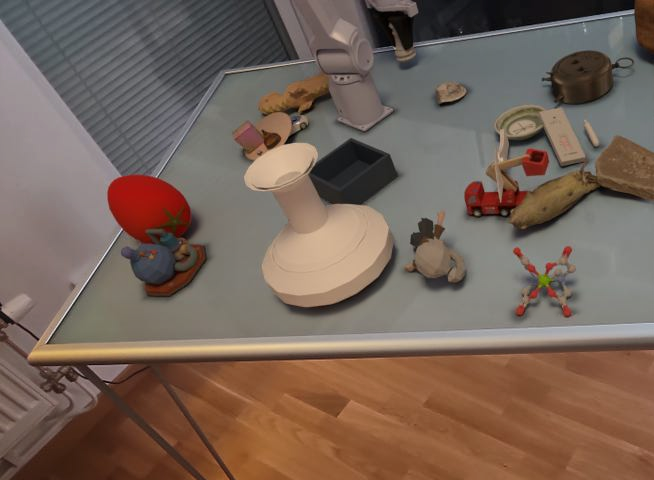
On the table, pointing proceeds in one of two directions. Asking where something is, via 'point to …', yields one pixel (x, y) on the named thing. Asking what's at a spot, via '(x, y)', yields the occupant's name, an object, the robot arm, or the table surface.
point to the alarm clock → (582, 76)
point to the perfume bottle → (263, 134)
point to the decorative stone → (626, 168)
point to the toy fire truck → (511, 196)
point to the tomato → (148, 206)
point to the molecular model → (546, 280)
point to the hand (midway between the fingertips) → (403, 46)
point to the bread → (645, 24)
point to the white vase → (316, 234)
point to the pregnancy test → (565, 136)
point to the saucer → (520, 122)
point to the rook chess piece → (402, 49)
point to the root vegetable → (552, 198)
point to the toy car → (298, 123)
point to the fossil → (449, 92)
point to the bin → (352, 173)
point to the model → (165, 263)
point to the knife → (501, 159)
